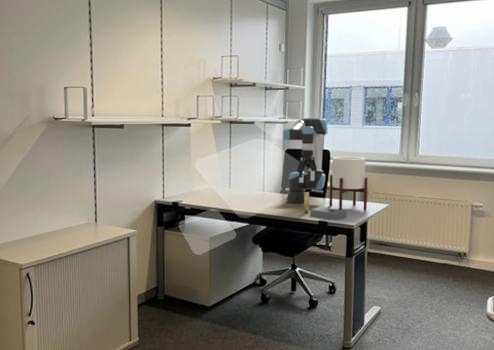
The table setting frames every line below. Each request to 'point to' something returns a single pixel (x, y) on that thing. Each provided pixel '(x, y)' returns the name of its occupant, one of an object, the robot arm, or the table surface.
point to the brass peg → (306, 202)
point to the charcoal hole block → (328, 213)
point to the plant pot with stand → (348, 178)
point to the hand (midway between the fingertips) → (306, 181)
